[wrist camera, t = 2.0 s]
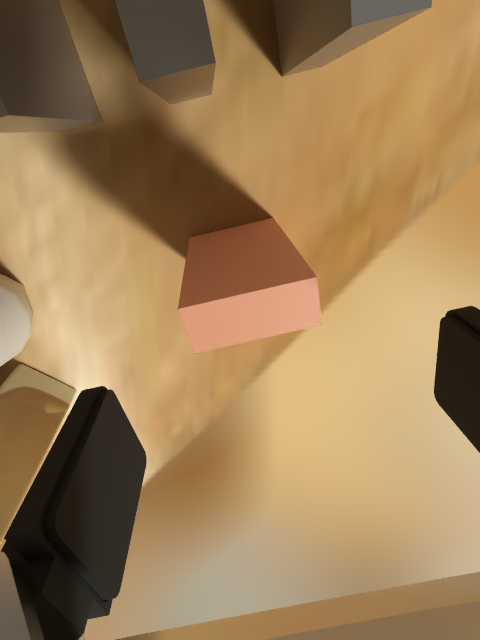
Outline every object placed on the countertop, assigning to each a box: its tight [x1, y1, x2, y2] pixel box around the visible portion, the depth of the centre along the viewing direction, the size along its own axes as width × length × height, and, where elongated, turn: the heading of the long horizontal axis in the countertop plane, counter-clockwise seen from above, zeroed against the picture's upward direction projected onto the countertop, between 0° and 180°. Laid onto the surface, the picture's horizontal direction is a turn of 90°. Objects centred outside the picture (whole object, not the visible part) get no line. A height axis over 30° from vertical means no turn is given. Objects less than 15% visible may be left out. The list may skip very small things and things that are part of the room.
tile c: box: [0, 0, 103, 133], centre depth 11 cm, size 5×2×9 cm, turn 12°
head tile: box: [178, 218, 322, 354], centre depth 16 cm, size 5×2×9 cm, turn 102°
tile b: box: [115, 0, 216, 104], centre depth 11 cm, size 5×2×9 cm, turn 12°
